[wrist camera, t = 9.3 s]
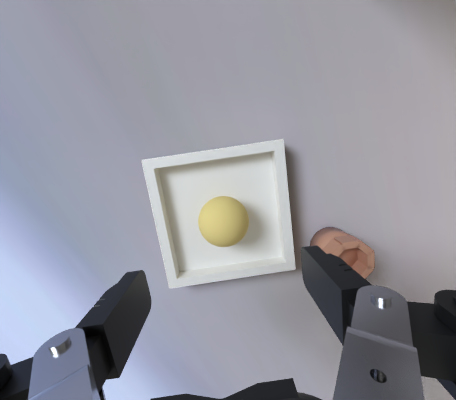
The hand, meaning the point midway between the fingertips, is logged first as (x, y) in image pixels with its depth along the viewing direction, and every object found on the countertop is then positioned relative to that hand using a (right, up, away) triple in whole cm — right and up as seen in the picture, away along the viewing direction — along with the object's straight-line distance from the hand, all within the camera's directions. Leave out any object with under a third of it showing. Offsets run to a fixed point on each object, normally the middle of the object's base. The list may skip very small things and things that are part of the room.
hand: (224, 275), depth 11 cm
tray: (0, +2, +14) cm, 14 cm away
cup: (+12, -2, +15) cm, 19 cm away
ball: (0, +2, +10) cm, 11 cm away
